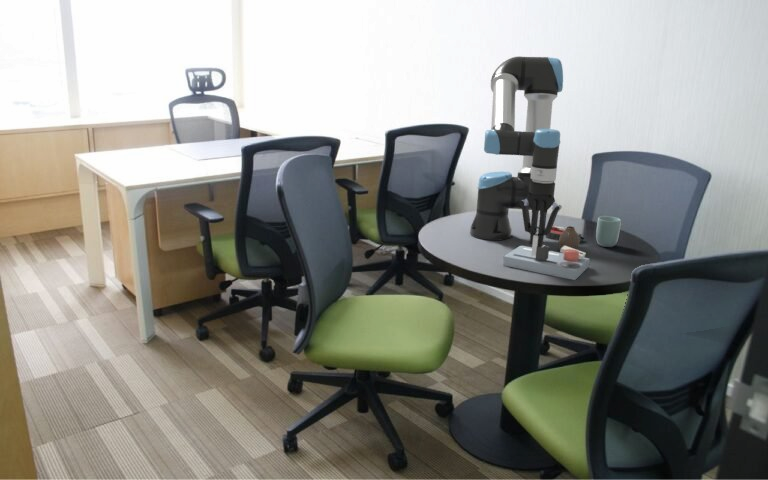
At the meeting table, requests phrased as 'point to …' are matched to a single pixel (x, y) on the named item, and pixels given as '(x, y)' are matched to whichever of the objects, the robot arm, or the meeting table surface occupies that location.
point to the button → (571, 255)
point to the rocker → (581, 254)
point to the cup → (607, 231)
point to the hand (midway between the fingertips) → (535, 254)
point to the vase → (569, 238)
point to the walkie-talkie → (558, 233)
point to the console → (545, 263)
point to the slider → (542, 252)
